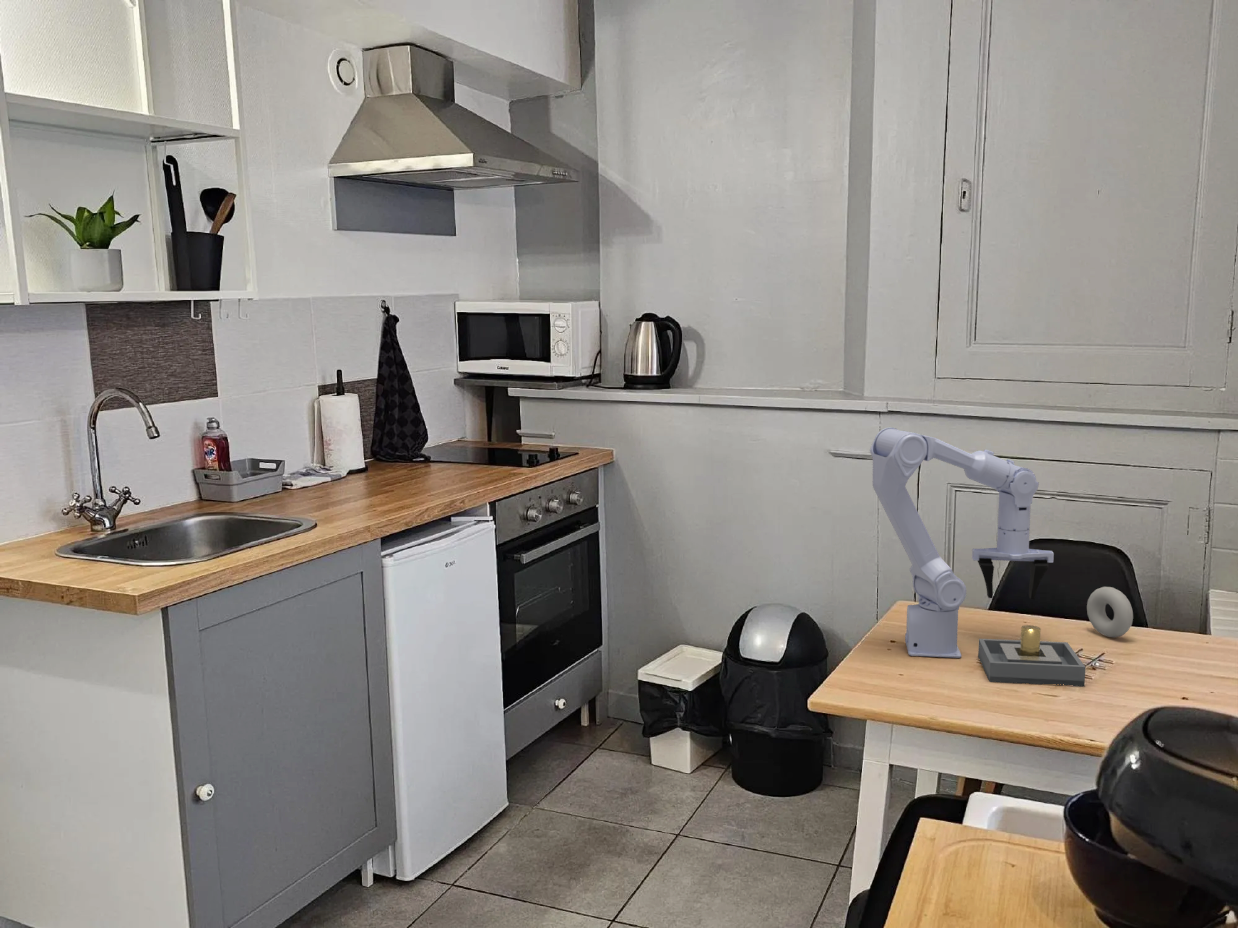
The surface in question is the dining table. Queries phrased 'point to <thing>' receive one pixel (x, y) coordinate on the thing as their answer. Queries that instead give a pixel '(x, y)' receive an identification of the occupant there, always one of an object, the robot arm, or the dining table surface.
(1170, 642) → the dining table surface
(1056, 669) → the box
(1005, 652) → the inlet
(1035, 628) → the connector
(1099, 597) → the donut
